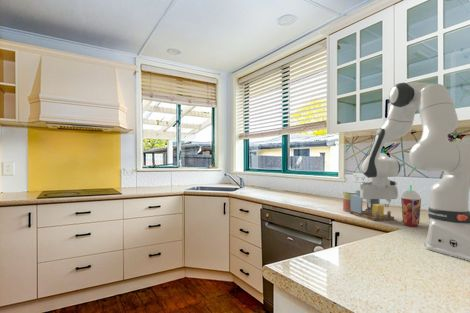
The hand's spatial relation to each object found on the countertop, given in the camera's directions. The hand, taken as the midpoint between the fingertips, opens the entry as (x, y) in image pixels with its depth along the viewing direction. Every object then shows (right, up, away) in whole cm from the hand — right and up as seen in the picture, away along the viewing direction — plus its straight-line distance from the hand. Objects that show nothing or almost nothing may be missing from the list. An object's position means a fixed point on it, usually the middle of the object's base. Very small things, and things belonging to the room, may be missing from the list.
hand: (378, 207), depth 147 cm
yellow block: (0, -5, 0) cm, 5 cm away
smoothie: (+8, -6, -15) cm, 18 cm away
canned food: (-5, -7, +22) cm, 23 cm away
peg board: (-1, -6, +5) cm, 8 cm away
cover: (-3, -5, +10) cm, 11 cm away
